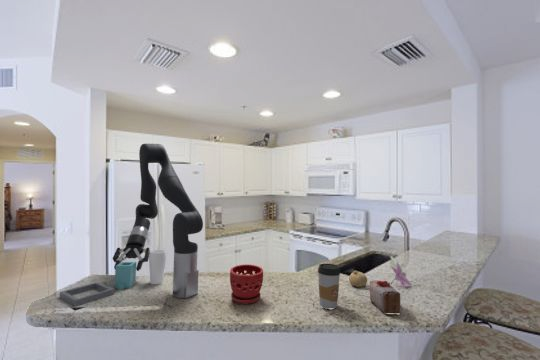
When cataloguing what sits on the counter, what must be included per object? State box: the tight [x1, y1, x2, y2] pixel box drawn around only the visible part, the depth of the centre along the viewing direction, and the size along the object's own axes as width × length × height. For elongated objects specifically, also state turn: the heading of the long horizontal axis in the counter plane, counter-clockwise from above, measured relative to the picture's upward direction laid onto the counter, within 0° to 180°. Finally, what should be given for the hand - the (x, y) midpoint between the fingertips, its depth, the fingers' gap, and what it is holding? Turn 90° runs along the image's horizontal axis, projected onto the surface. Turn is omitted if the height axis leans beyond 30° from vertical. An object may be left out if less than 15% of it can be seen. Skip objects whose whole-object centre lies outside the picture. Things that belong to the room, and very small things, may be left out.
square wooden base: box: [112, 281, 139, 290], centre depth 112 cm, size 8×8×8 cm
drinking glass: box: [148, 249, 167, 285], centre depth 117 cm, size 7×7×15 cm
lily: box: [390, 262, 413, 290], centre depth 124 cm, size 12×12×10 cm
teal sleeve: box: [114, 261, 137, 291], centre depth 111 cm, size 6×8×9 cm
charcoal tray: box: [59, 281, 115, 312], centre depth 100 cm, size 13×13×4 cm
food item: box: [368, 279, 401, 314], centre depth 100 cm, size 14×8×10 cm, turn 4°
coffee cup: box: [317, 263, 341, 309], centre depth 100 cm, size 8×8×15 cm
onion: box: [348, 270, 368, 288], centre depth 122 cm, size 8×8×7 cm
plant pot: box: [229, 264, 264, 305], centre depth 104 cm, size 13×13×12 cm
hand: (127, 270), depth 113 cm, fingers open, 8 cm apart
